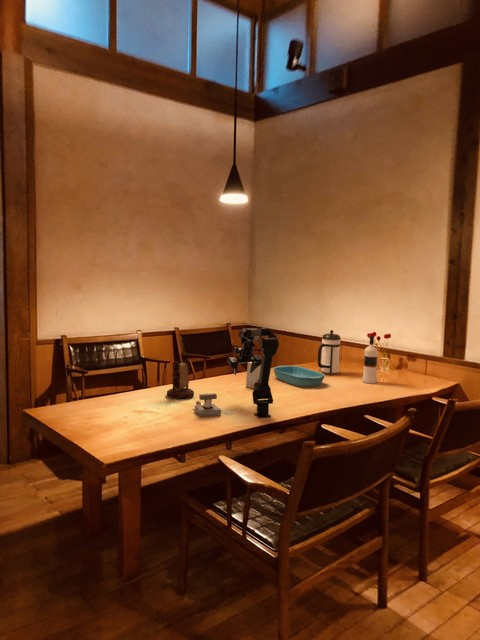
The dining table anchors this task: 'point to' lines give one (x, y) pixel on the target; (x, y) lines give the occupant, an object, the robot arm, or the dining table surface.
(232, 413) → the mat
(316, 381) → the casserole dish
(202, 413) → the block
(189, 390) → the brown pedestal sculpture
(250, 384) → the skincare box
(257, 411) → the robot arm
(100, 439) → the dining table surface
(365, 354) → the vodka
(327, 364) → the coffee press
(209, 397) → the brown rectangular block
